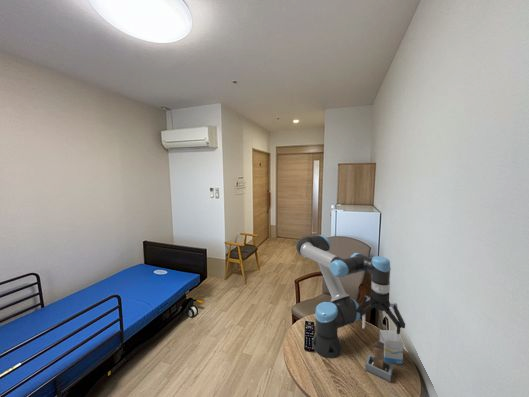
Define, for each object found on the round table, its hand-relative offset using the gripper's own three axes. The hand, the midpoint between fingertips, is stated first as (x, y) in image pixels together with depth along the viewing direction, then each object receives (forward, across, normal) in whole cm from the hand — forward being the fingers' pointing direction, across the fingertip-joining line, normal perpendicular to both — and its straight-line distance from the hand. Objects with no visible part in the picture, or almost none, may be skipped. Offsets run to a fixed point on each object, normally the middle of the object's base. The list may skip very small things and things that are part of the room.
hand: (379, 332), depth 100 cm
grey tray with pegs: (+19, 0, 0) cm, 19 cm away
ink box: (+20, +4, +12) cm, 24 cm away
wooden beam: (+19, 0, 0) cm, 19 cm away
